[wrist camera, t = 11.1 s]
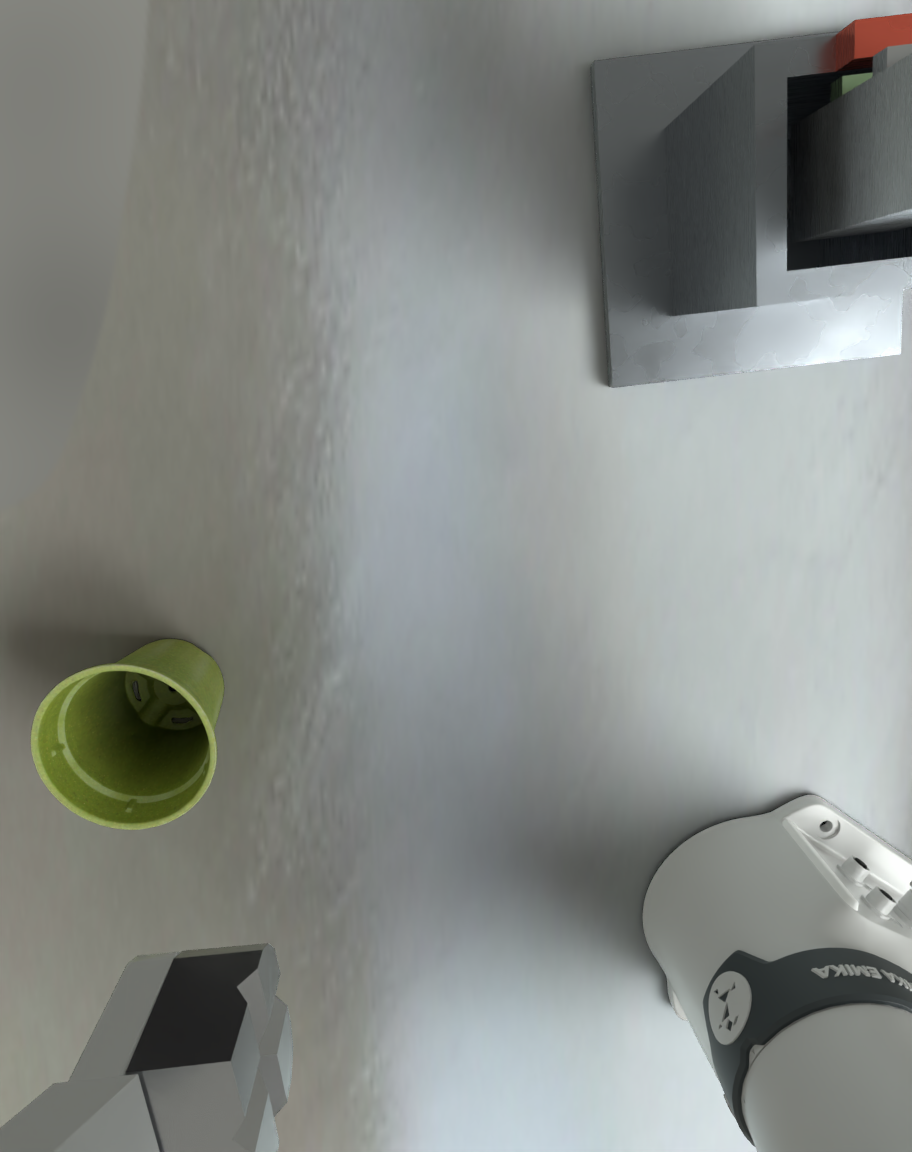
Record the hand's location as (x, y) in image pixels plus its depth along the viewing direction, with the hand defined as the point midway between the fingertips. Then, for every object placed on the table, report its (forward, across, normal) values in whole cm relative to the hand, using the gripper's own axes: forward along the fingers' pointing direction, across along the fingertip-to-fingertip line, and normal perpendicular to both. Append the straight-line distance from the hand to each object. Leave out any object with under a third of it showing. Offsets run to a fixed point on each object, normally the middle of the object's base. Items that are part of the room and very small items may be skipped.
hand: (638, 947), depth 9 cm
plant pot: (+39, +20, +12) cm, 45 cm away
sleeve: (+39, -16, -11) cm, 44 cm away
